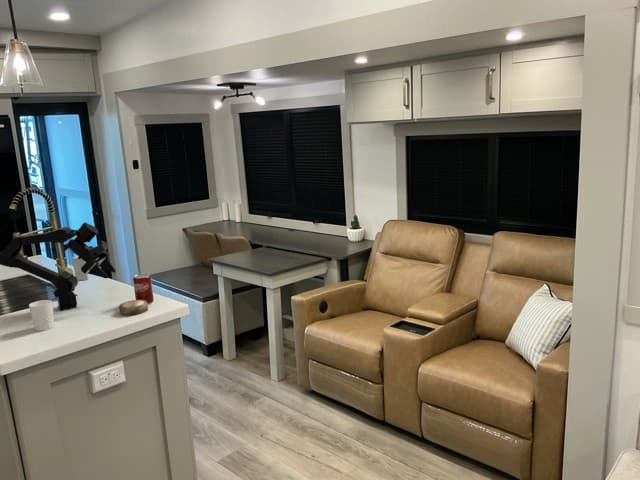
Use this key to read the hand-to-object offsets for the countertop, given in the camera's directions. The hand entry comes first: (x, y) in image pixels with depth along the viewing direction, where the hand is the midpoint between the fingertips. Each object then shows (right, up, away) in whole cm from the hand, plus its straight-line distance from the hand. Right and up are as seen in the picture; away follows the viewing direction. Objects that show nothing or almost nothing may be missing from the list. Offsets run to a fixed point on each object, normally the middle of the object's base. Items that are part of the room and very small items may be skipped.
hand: (111, 274), depth 225 cm
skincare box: (-33, -6, +47) cm, 57 cm away
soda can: (+14, -12, +3) cm, 19 cm away
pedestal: (+12, -14, -8) cm, 21 cm away
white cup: (-17, -19, -21) cm, 33 cm away
